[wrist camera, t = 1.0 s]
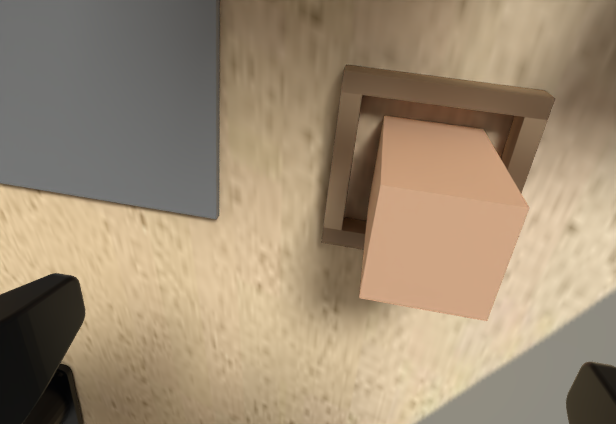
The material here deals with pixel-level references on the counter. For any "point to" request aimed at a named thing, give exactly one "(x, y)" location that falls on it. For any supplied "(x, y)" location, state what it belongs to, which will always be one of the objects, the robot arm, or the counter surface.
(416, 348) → the counter surface
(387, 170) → the block
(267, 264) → the counter surface
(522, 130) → the pocket
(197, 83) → the mat
